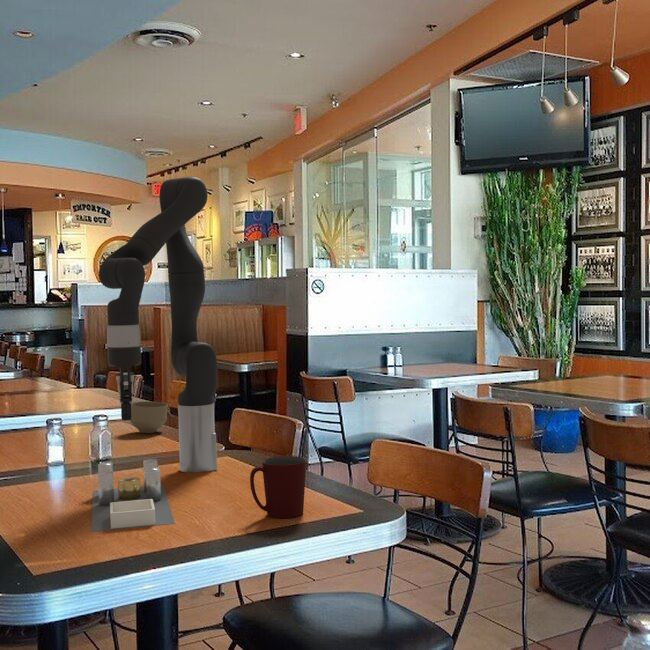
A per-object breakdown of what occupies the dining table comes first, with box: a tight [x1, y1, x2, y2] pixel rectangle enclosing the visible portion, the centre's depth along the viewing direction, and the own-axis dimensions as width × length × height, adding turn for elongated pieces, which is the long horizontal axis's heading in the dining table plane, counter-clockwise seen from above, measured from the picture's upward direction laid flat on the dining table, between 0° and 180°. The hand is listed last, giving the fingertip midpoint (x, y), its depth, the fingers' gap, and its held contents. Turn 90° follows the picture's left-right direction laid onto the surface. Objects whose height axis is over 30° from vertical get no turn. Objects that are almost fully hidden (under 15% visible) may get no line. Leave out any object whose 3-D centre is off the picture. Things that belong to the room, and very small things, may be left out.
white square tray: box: [110, 499, 155, 529], centre depth 162 cm, size 8×8×3 cm
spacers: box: [97, 458, 162, 506], centre depth 181 cm, size 13×12×7 cm
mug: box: [249, 455, 307, 519], centre depth 165 cm, size 12×9×11 cm
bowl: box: [129, 401, 169, 434], centre depth 268 cm, size 13×13×10 cm
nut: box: [117, 476, 141, 500], centre depth 181 cm, size 5×5×4 cm
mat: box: [90, 484, 176, 533], centre depth 173 cm, size 16×34×1 cm, turn 15°
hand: (126, 419), depth 187 cm, fingers closed
